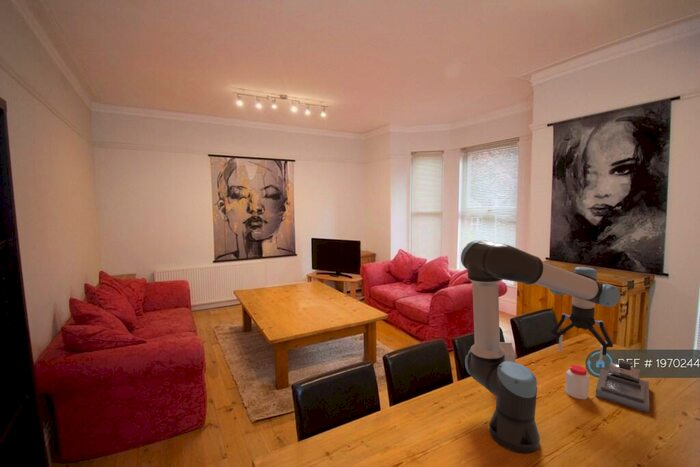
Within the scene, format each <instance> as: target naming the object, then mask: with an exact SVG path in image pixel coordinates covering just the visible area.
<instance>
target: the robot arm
mask: <svg viewBox="0 0 700 467" xmlns="http://www.w3.org/2000/svg"><path fill="white" fill-rule="evenodd" d="M460 262H461V264H462V266H463V267H464V268H465V269H466V270H467V280H468V281H470V282H471V283H472V308H473V309H472V310H473V331H474V333H473V335H474V344H473V345H471V346H470V349H469V350H468V352H467V354H466V355H465V359H464V364H465V365H464V366H465V370H466V372H467V373H468V374H469V376H471V377H472V379H473V380H475V381H476V382H477V383H479V384H480V385H481V386H483V387H484V388H485V389H487V391H489V392H490V393H491V394H493V395H494V396H495V410H494V411H493V414H492V416H491V418H490V420H489V426H488V431H489V435H490V437H491V438H492V439H493V440H494V441H495V442H496V443H497V444H498V445H500V446H501V447H502V448H503V447H504V448H506V449H507V450H509V451H512V452H515V453H520V454H529V453H534V452H536V451H537V450H539V448H540V443H541V442H540V441H541V440H540V439H541V437H540V433H539V430H538V426H537V423H536V418H535V417H536V409H537V408H536V407H537V398H538V397H537V394H538V385H537V383H538V382H537V381H538V380H537V377H536V374H535V373H534V372H533V371H532V370H531V369H530V368H528V367H527V366H525V365H523V364H522V363H517V362H516V361H515V362H510V361H506V362H505V351H504V349H503V348H501V347H500V342H501V341H500V339H501V337H500V333H501V332H500V307H499V306H500V304H499V302H500V300H499V297H500V296H499V284H500V283H501V281H503V280H504V281H509V282H514V283H515V282H516V283H521V284H524V285H529V286H531V285H538V286H541V287H543V288H546V289H548V290H549V291H550V293H552V294H554V295H557V296H558V295H561V296H562V295H563V296H564V295H567V296H570V297H571V312H570V315H569V314H567V313H564V312H562V314H561V318H560V320H559V321H558V322H557V323H556V325H555V327H553V329H552V331H551V332H550V333H551V334H552V335H555V343H556V344H558V353H560V354H561V352H562V350H563V340H564V339H563V334H565V333H566V332H567V331H570V330H571V329H572V328H574V327H575V328H576V329H582V330H586V331H587V330H588V331H589V332H590V333H591V334H592V335H593V336H594V338H596V340H597V342H599V344H600V346H599V360H598V361H599V362H598V363H599V364H603V358H604V357H603V356H607V351H608V348H612V347H613V346H614V342H613V341H612V338H611V337H610V335H609V333H608V331H607V329H606V327H605V321H604V320H601V319H600V320H595V307H596V304H597V305H600V306H604V307H608V308H611V307H614V306H616V305H617V304H618V303H619V300H620V298H621V291H620V288H618V287H617V286H615V285H612V284H609V283H605V282H602V281H598V271H597V269H595V268H592V267H587V266H576V267H575V268H574V269H573V272H572V271H570V270H568V269H567V270H566V269H563V268H561V267H558V266H555V265H553V264H552V265H551V264H550V263H547V262H543V261H542V259H541V258H540V257H539V256H537V255H536V256H535V255H533V254H530V253H528V252H526V251H524V250H521V249H519V248H516V247H514V246H513V245H509V244H506V243H499V242H494V241H489V240H485V239H484V240H479V239H476V240H472V241H470V242H468V243H467V244H466V246H464V247H463V248H462V251H461V254H460ZM568 319H569V320H570V323H569V324H567V325H566V326H565V327H564V328H562V329H561V330H559V329H560V327H561V326H562V324H564V322H565V321H567V320H568ZM594 325H596V326H597V327H599V329H600V331H601V333H602V336H603V337H604V338H603V337H602V336H601V334H600V333H599V332H598V331H597V330H596V328H595V327H594Z"/></svg>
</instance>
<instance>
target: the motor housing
mask: <svg viewBox="0 0 700 467" xmlns="http://www.w3.org/2000/svg"><path fill="white" fill-rule="evenodd" d="M649 384H650V383H649V381H647V380H644V379H641V370H640V369H636V368H633V367H632V362H630V361H627V360H622V359H619V360H618V364H617V363H613V362H609V367H608V370H607V369H603V368H601V369H600V370H599V376H598V380H597V384H596V387H595V397H597V398H599V399H603V400H606V401H609V402H612V403H615V402H616V404H618V403H619V405H621V404H622V406H625V407H628V408H630V409H634V410H638V411H640V412H643V413H646V412H647V413H646V414H650V413H649V412H650V385H649Z"/></svg>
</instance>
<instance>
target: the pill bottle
mask: <svg viewBox="0 0 700 467" xmlns="http://www.w3.org/2000/svg"><path fill="white" fill-rule="evenodd" d="M587 372H588V370H587V369H586V368H585V367H583V366H581V365H578V364H572V365H570V368H569V369H567V370H566V373H565V375H566V376H565V388H564V389H565V390H564V392H565V394H567V395H568V396H570V397H572V398H574V399H577V400H587V399H588V398H589V392H590V391H589V390H590V388H589V387H590V375H589V374H588V373H587Z"/></svg>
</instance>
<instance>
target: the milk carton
mask: <svg viewBox="0 0 700 467" xmlns="http://www.w3.org/2000/svg"><path fill="white" fill-rule="evenodd" d="M500 347H501V348H503V349H504V351H505V362H506V361H510V362H515V363H516V356H517V355H516V353H515V349H514V346H513V342H506V341H505V342H504V341H503V342H502V341H500Z"/></svg>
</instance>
